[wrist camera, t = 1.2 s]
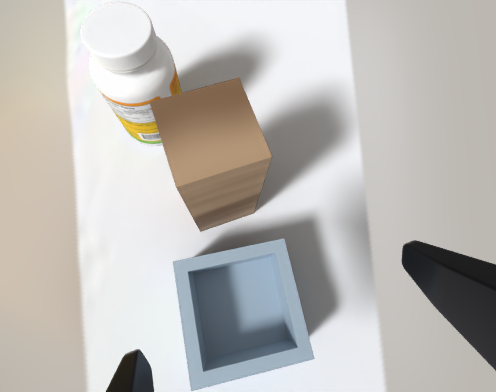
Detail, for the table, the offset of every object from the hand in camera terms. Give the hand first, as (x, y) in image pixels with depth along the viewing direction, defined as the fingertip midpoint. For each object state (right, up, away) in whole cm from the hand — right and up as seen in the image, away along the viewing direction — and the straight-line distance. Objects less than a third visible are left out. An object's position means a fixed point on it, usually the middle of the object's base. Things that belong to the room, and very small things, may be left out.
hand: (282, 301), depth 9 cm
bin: (-2, -5, +12) cm, 13 cm away
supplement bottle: (-9, +10, +17) cm, 22 cm away
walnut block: (-4, +3, +15) cm, 16 cm away
